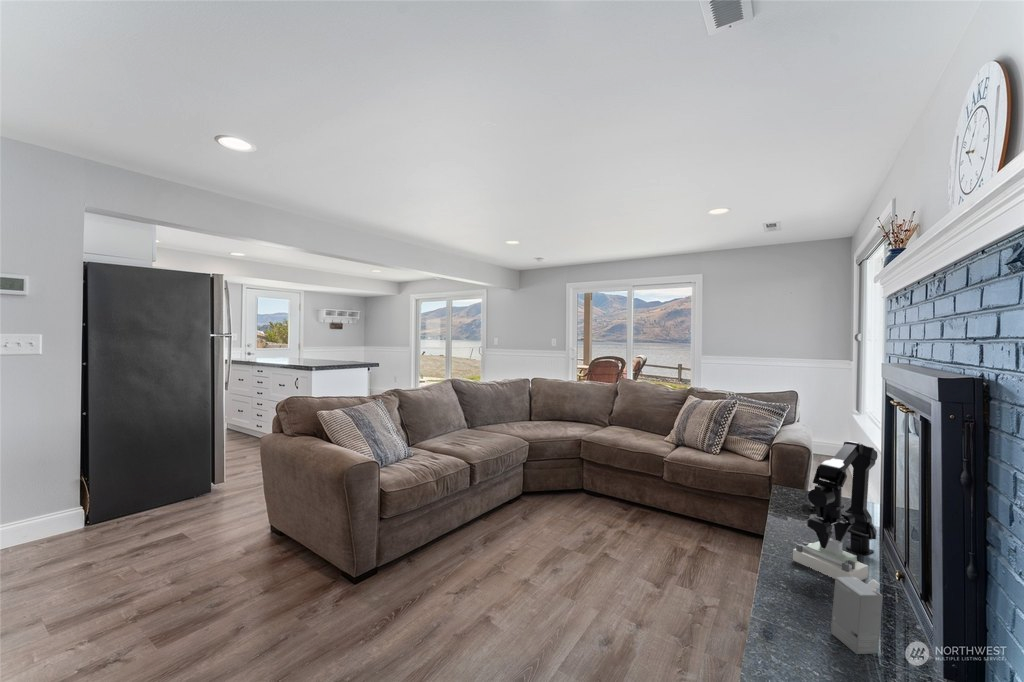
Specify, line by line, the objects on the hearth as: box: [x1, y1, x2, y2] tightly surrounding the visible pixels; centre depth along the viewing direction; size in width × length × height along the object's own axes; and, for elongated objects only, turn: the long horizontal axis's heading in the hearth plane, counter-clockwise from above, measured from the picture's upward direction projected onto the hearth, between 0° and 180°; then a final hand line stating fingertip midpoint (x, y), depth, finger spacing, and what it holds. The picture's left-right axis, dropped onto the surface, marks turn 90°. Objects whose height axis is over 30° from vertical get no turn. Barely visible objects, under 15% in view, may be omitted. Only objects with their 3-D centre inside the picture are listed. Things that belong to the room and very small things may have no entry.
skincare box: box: [830, 577, 884, 655], centre depth 114 cm, size 8×7×16 cm
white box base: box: [792, 541, 869, 581], centre depth 151 cm, size 11×18×6 cm, turn 27°
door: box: [799, 537, 858, 569], centre depth 151 cm, size 9×16×6 cm, turn 27°
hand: (830, 545), depth 151 cm, fingers open, 9 cm apart
